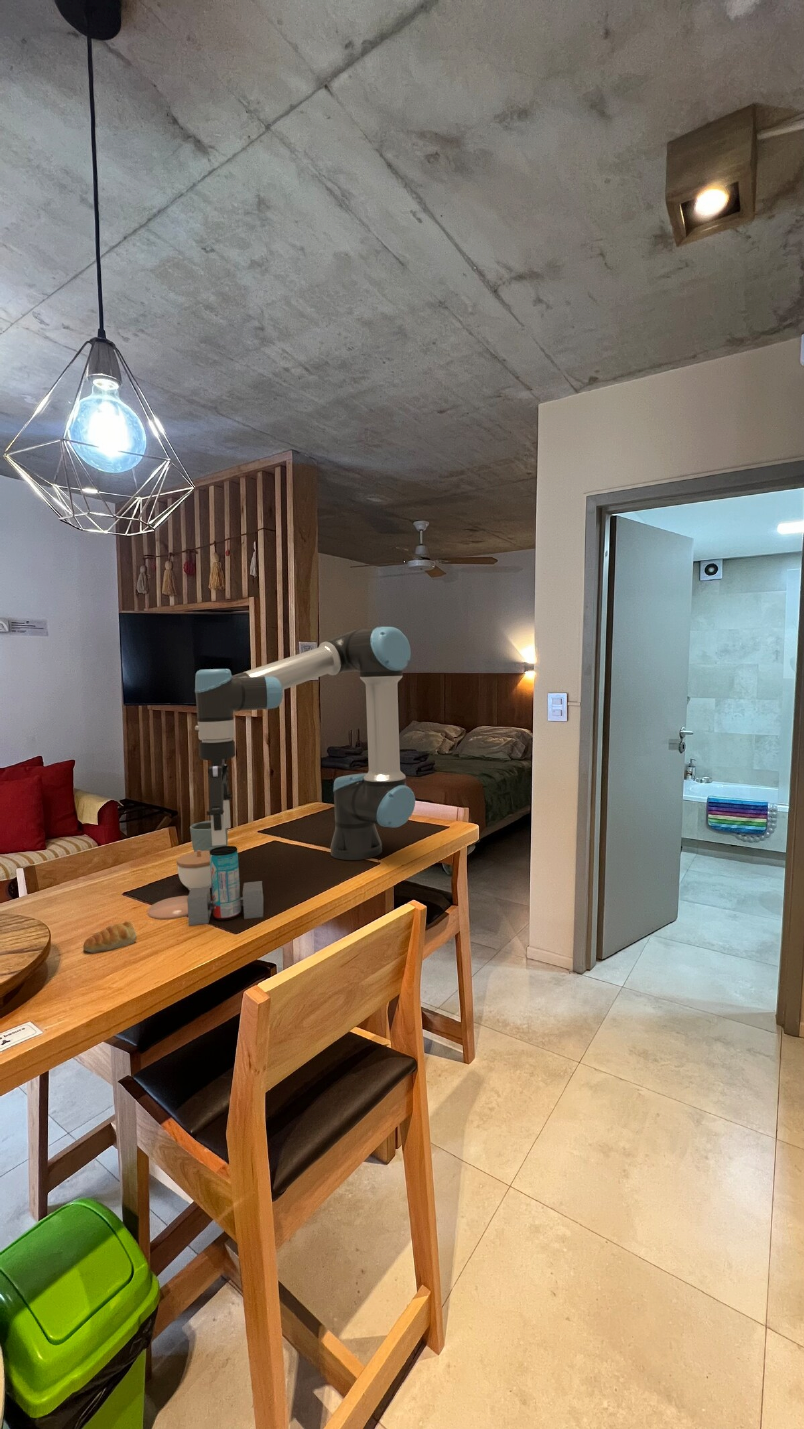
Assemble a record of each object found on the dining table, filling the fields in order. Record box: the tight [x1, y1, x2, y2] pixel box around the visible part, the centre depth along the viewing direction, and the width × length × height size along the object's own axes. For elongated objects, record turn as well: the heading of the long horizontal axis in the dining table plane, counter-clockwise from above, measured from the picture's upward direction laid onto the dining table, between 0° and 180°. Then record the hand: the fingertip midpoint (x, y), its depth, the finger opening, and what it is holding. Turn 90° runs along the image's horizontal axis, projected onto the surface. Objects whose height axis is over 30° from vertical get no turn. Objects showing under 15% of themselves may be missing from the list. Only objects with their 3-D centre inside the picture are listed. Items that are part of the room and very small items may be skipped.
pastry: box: [82, 920, 137, 954], centre depth 118 cm, size 9×7×4 cm
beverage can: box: [210, 845, 242, 921], centre depth 130 cm, size 6×6×15 cm
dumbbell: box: [187, 880, 264, 926], centre depth 132 cm, size 16×9×6 cm, turn 102°
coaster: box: [147, 895, 188, 920], centre depth 136 cm, size 12×12×1 cm
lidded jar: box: [176, 850, 212, 891], centre depth 149 cm, size 11×11×9 cm
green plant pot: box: [189, 820, 229, 852], centre depth 165 cm, size 10×10×12 cm
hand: (221, 836), depth 129 cm, fingers open, 13 cm apart
